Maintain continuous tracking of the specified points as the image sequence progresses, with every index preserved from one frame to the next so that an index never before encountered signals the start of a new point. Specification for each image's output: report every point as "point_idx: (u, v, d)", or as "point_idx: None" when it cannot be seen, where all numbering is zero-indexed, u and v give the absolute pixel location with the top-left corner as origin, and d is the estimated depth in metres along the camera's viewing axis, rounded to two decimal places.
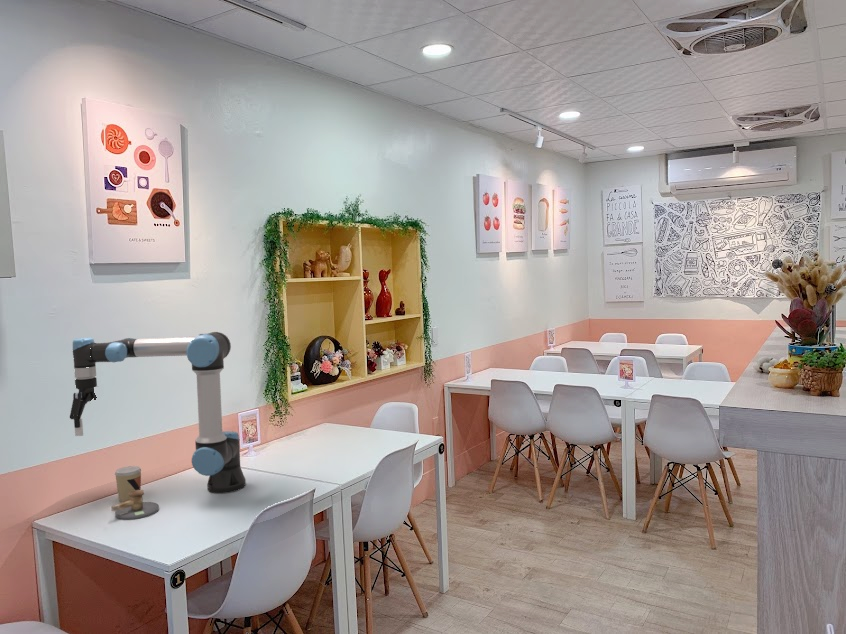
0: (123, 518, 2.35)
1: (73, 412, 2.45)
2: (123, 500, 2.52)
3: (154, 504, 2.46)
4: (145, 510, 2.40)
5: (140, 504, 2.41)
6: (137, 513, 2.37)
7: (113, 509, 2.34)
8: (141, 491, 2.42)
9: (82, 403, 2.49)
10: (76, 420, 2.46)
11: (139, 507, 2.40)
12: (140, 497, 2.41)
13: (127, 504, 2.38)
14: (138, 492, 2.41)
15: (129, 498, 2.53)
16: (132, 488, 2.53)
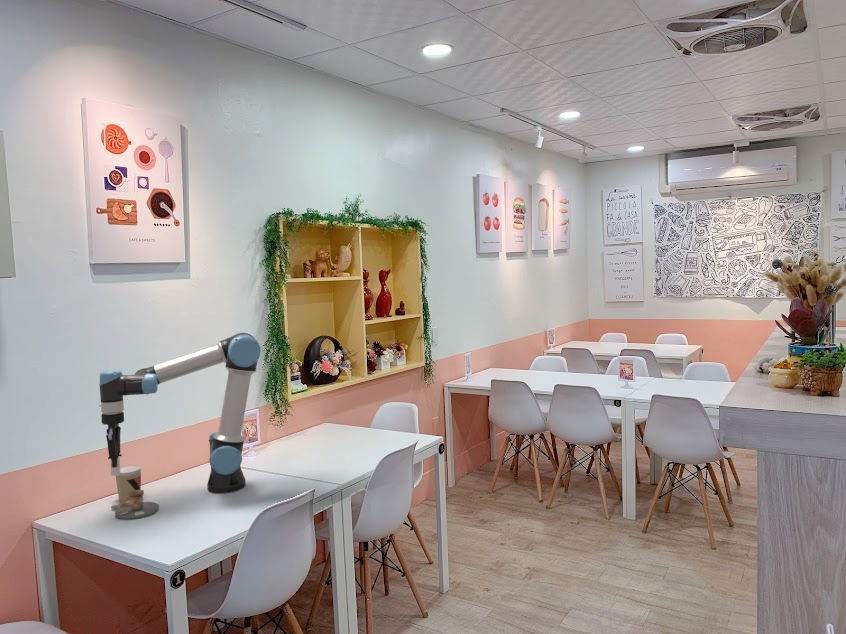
0: (123, 518, 2.35)
1: (112, 453, 2.37)
2: (123, 500, 2.52)
3: (154, 504, 2.46)
4: (145, 510, 2.40)
5: (140, 504, 2.41)
6: (137, 513, 2.37)
7: (113, 509, 2.34)
8: (141, 491, 2.42)
9: (115, 441, 2.39)
10: (114, 459, 2.39)
11: (139, 507, 2.40)
12: (140, 497, 2.41)
13: (127, 504, 2.38)
14: (138, 492, 2.41)
15: (129, 498, 2.53)
16: (132, 488, 2.53)
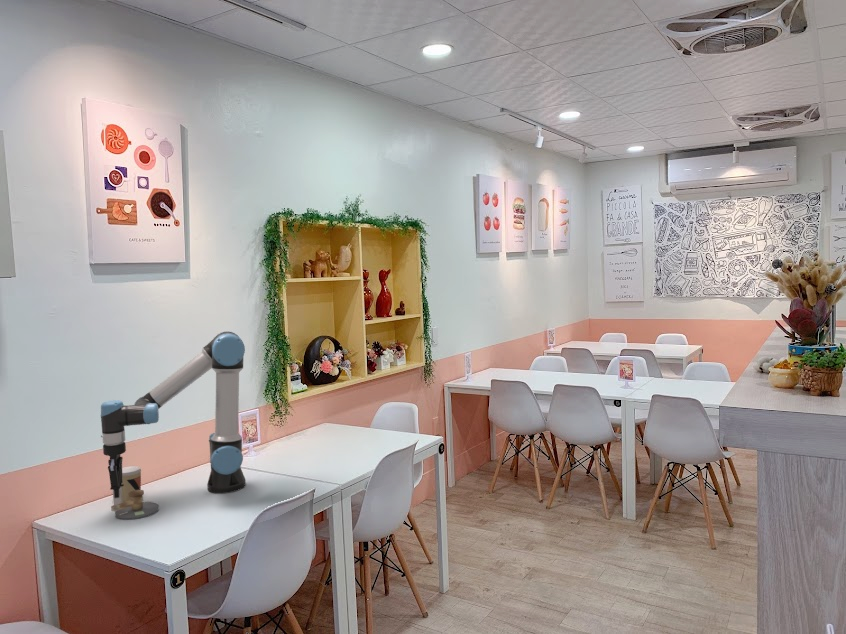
0: (123, 518, 2.35)
1: (114, 484, 2.37)
2: (123, 500, 2.52)
3: (154, 504, 2.46)
4: (145, 510, 2.40)
5: (140, 504, 2.41)
6: (137, 513, 2.37)
7: (113, 509, 2.34)
8: (141, 491, 2.42)
9: (117, 472, 2.39)
10: (116, 490, 2.39)
11: (139, 507, 2.40)
12: (140, 497, 2.41)
13: (127, 504, 2.38)
14: (138, 492, 2.41)
15: (129, 498, 2.53)
16: (132, 488, 2.53)
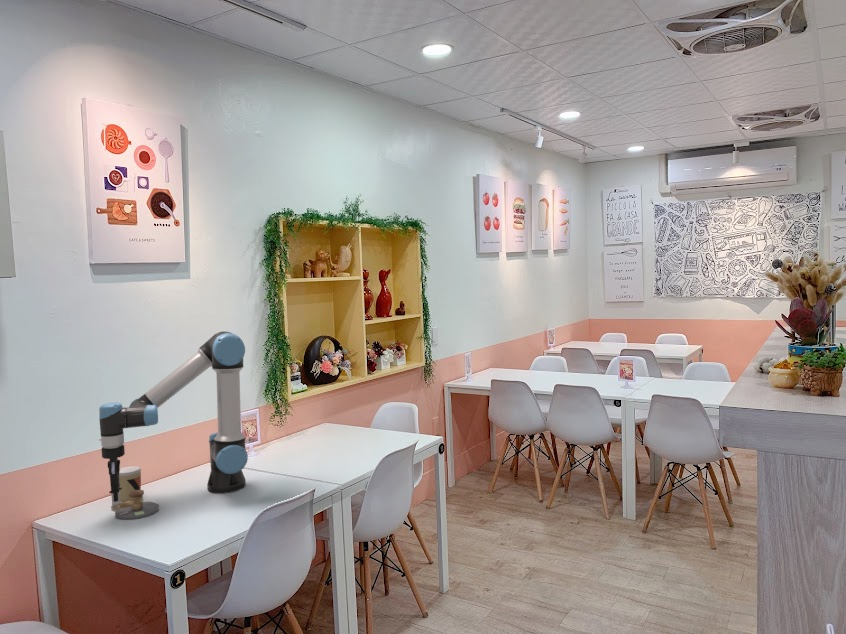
0: (123, 518, 2.35)
1: (114, 487, 2.33)
2: (123, 500, 2.52)
3: (154, 504, 2.46)
4: (145, 510, 2.40)
5: (140, 504, 2.41)
6: (137, 513, 2.37)
7: (113, 509, 2.34)
8: (141, 491, 2.42)
9: None
10: (116, 493, 2.35)
11: (139, 507, 2.40)
12: (140, 497, 2.41)
13: (127, 504, 2.38)
14: (138, 492, 2.41)
15: (129, 498, 2.53)
16: (132, 488, 2.53)
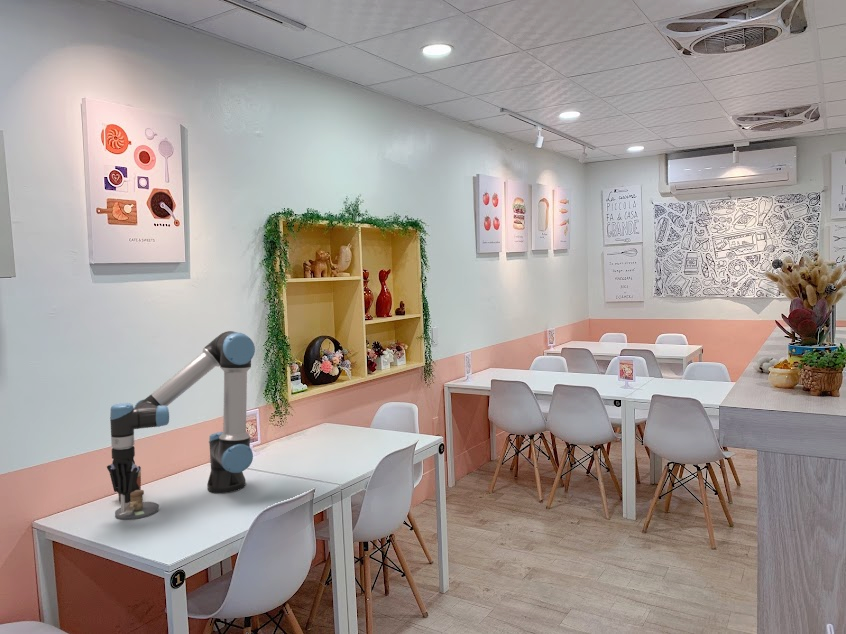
0: (123, 518, 2.35)
1: (133, 487, 2.33)
2: None
3: (154, 504, 2.46)
4: (145, 510, 2.40)
5: (142, 503, 2.42)
6: (137, 513, 2.37)
7: (129, 510, 2.33)
8: (139, 490, 2.43)
9: (129, 475, 2.34)
10: (129, 494, 2.34)
11: (142, 506, 2.42)
12: None
13: (135, 504, 2.38)
14: (139, 491, 2.42)
15: None
16: None
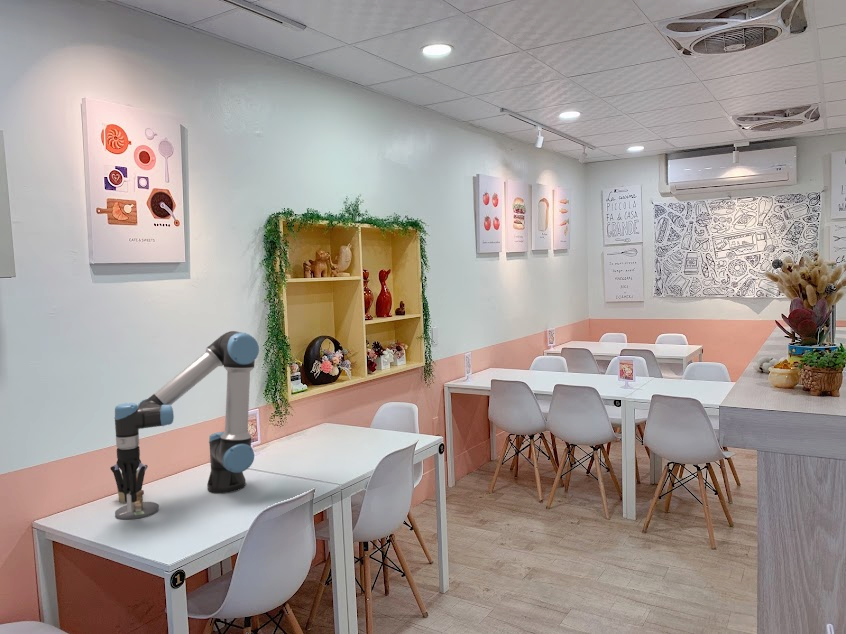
0: (123, 518, 2.35)
1: (140, 485, 2.34)
2: (123, 500, 2.52)
3: (154, 504, 2.46)
4: (145, 510, 2.40)
5: (142, 502, 2.43)
6: (137, 513, 2.37)
7: (139, 509, 2.34)
8: None
9: (135, 475, 2.34)
10: (135, 493, 2.34)
11: (142, 505, 2.42)
12: None
13: (140, 503, 2.38)
14: (139, 491, 2.42)
15: None
16: None
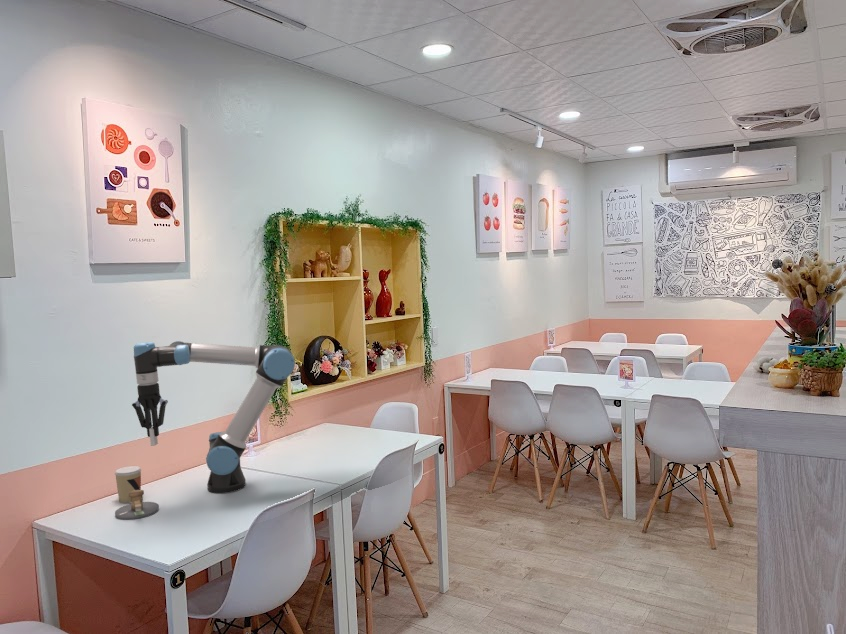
0: (123, 518, 2.35)
1: (162, 420, 2.46)
2: (123, 500, 2.52)
3: (154, 504, 2.46)
4: (145, 510, 2.40)
5: (142, 502, 2.43)
6: (137, 513, 2.37)
7: (139, 509, 2.34)
8: (137, 490, 2.43)
9: (156, 410, 2.46)
10: (158, 428, 2.46)
11: (142, 505, 2.42)
12: None
13: (140, 503, 2.38)
14: (139, 491, 2.42)
15: (129, 498, 2.53)
16: (132, 488, 2.53)
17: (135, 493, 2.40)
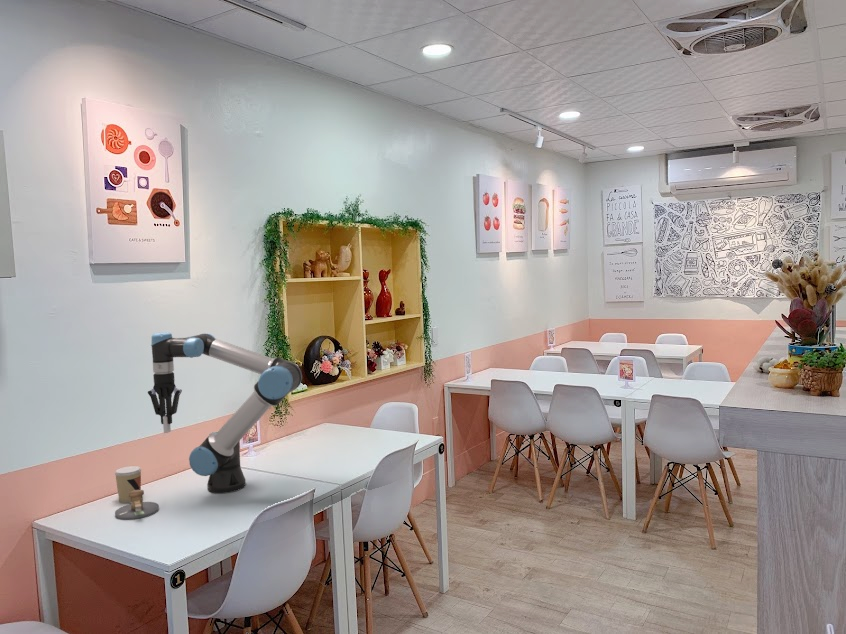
0: (123, 518, 2.35)
1: (175, 408, 2.53)
2: (123, 500, 2.52)
3: (154, 504, 2.46)
4: (145, 510, 2.40)
5: (142, 502, 2.43)
6: (137, 513, 2.37)
7: (139, 509, 2.34)
8: (137, 490, 2.43)
9: (170, 399, 2.54)
10: (171, 416, 2.54)
11: (142, 505, 2.42)
12: None
13: (140, 503, 2.38)
14: (139, 491, 2.42)
15: (129, 498, 2.53)
16: (132, 488, 2.53)
17: (135, 493, 2.40)
